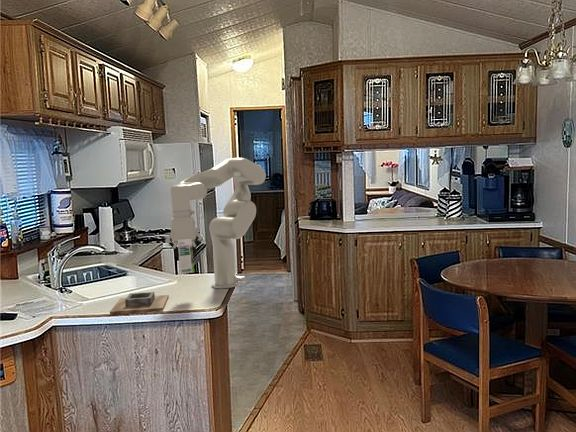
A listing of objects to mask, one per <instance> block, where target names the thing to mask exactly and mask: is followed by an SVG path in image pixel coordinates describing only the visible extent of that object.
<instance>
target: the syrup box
mask: <svg viewBox="0 0 576 432" xmlns="http://www.w3.org/2000/svg"><path fill="white" fill-rule="evenodd" d="M192 247H193V245H192V240H191V239H178V243H177V248H178V254H179V257H178V263H179V272H180V275H183V274H191V273H195V264H194V261H195V260H194V257H193V250H192Z"/></svg>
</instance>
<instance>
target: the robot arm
mask: <svg viewBox="0 0 576 432" xmlns="http://www.w3.org/2000/svg"><path fill="white" fill-rule="evenodd" d="M266 178H267V175H266V171H265V169H264V168H263V167H262V166H260V165H259V164H258V163H257V164H256V163H255V162H254V161H251V160H249V159H248V158H246V157H245V158H244V157H233V158H232V157H231V158H226V159H223V161H220V162H219V163H217V164H215V165H214V166H212V168H210V169H207V170H205V171H201V172H199V173H195V174H193V175H191V176H189V177H187V178H185V179H183V180H182V181H181V182H179V183H178V184H174V185H172V186H170V189H169V190H170V198H171V199H170V200H171V211H172V212H171V213H172V217H171V220H170V234H168V236H167V237H166V238H165V240H164V242H166V243H167V245H169V246H171V248H172V249H173V253H174V256H175V257H176V259H179V254H178V245H177V243H178V239H191V240H192V250H193V258H195V256H196V255H197V246H198V245H199V244H200V242H201V241H202V240H203V238H204V236H203V235H201V233H199V231H197V228H196V223H195V219H194V216H193V215H194V214H196V213H195V210H192V209H191V201H201V200H203V199H205V198H206V196H207V194H208V189H213V188H217V187H220V186H222V185H223V184H224V183H226V182H227V181H229V180H230V179H233V184H234V185H233V186H234V191H233V193H232V195H231V197H230V198H229V200H228V201H227V202H226V204H225V206H224V207H223V211H222V215H223V216H218V217H217V216H216V217H214V218H212V220H211V221H210V223H209V228H208V229H209V234H210V239H211V242H212V243H211V244H212V256H213V259H212V260H213V272H214V273H213V275H214V282H212V283H211V287H212V288H213V289H231V288H235V287H237V286H239V285H240V282H245V281H246V276H243V275H242V276H238V275H237V274H236V265H235V248H234V243H233V241H232V240H238V239H239V240H240V239H241V238H243V236H245V235H246V233H247V231H248V230H249V227H250V226H251V225H252V223H253V221H254V220H255V218H256V214H257V206H256V203H254V202H253V201H252V200H251V196H252V195H251V191H250V189H249V186H250V185H251V186H252V185H253V186H254V185H256V186H257V185H261V184H263V183H264V182H265V180H266ZM197 237H198V238H197ZM196 239H197V240H196ZM195 240H196V241H195Z"/></svg>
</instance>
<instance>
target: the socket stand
mask: <svg viewBox="0 0 576 432" xmlns="http://www.w3.org/2000/svg"><path fill="white" fill-rule="evenodd" d="M169 297H170V295H169V294H162V295H155V291H146V292H133V293H132V292H131V293H129V294H128V295H127V297H120V298H119V300H118V301H117V302H116V303H115V305H114V306H113V307H112V308H111V309H110V310H109V315H110V316H111V315H112V316H113V315H114V316H115V315H124V314H125V315H126V314H138V313H139V314H140V313H150V312H163V311H164V309H165V307H166V305H167V303H168V300H169Z"/></svg>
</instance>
